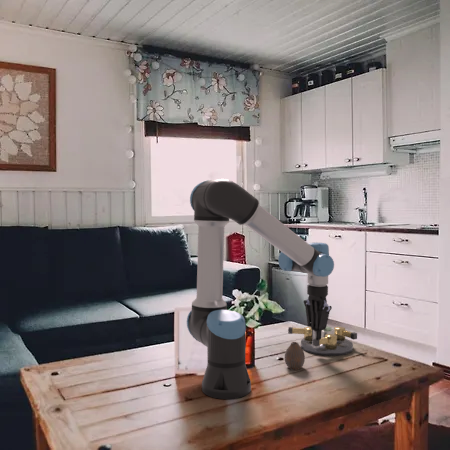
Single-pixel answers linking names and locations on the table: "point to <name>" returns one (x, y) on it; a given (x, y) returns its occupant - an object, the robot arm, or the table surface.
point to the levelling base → (341, 349)
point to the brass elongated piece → (344, 334)
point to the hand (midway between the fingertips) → (316, 346)
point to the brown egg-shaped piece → (294, 356)
